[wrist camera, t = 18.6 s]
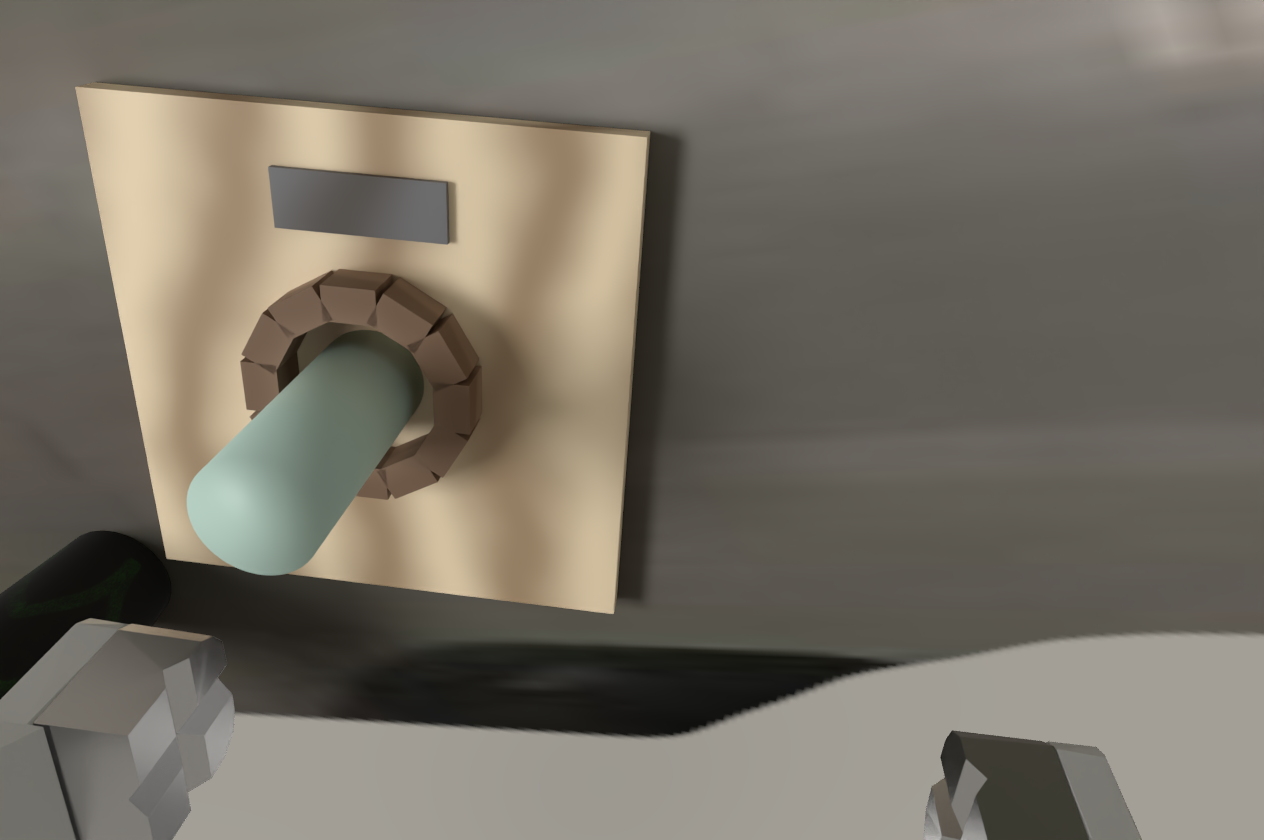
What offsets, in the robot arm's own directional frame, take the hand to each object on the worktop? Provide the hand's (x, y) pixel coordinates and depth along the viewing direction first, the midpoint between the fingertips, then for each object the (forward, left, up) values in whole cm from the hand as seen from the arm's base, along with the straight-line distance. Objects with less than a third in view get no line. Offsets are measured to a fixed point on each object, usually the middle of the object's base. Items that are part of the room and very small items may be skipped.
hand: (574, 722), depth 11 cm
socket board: (+13, +10, -29) cm, 33 cm away
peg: (+13, +10, -28) cm, 32 cm away
